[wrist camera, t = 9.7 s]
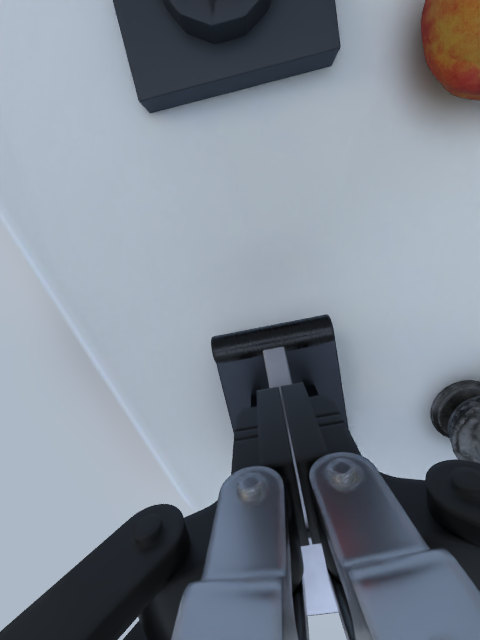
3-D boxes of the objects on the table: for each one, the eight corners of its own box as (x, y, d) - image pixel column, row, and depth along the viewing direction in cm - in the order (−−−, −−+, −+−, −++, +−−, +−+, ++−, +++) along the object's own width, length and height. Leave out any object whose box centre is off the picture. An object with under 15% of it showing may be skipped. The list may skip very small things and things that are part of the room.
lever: (216, 340, 18) (207, 333, 16) (324, 319, 18) (331, 308, 16) (256, 588, 16) (251, 623, 13) (384, 572, 15) (402, 605, 13)
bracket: (215, 350, 26) (172, 496, 12) (330, 328, 25) (432, 456, 11) (247, 476, 29) (242, 714, 15) (350, 460, 28) (450, 695, 14)
